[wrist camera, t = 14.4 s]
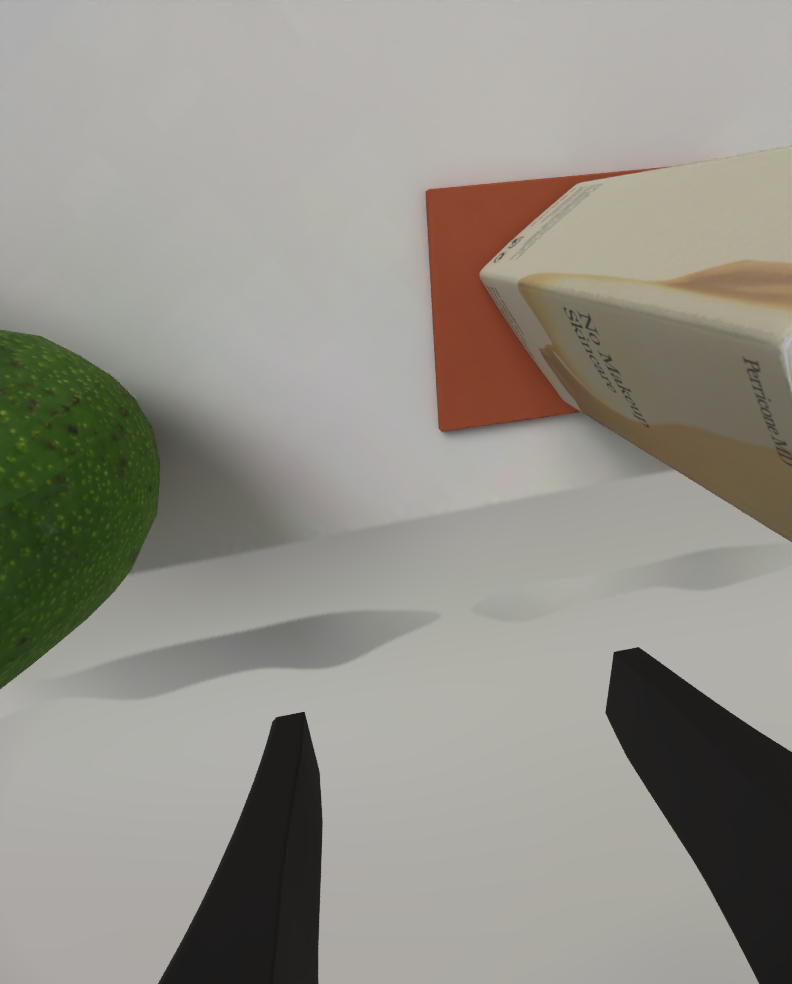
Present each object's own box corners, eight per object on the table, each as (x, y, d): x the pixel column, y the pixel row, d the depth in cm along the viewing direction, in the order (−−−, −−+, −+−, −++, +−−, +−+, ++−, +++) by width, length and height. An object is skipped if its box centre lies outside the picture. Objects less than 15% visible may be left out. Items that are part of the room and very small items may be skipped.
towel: (438, 428, 20) (440, 431, 19) (425, 190, 16) (427, 189, 16) (677, 394, 21) (683, 397, 20) (715, 163, 17) (724, 161, 17)
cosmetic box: (471, 274, 17) (764, 327, 6) (577, 177, 16) (1127, 44, 5) (566, 410, 20) (883, 614, 9) (660, 333, 19) (1135, 454, 8)
